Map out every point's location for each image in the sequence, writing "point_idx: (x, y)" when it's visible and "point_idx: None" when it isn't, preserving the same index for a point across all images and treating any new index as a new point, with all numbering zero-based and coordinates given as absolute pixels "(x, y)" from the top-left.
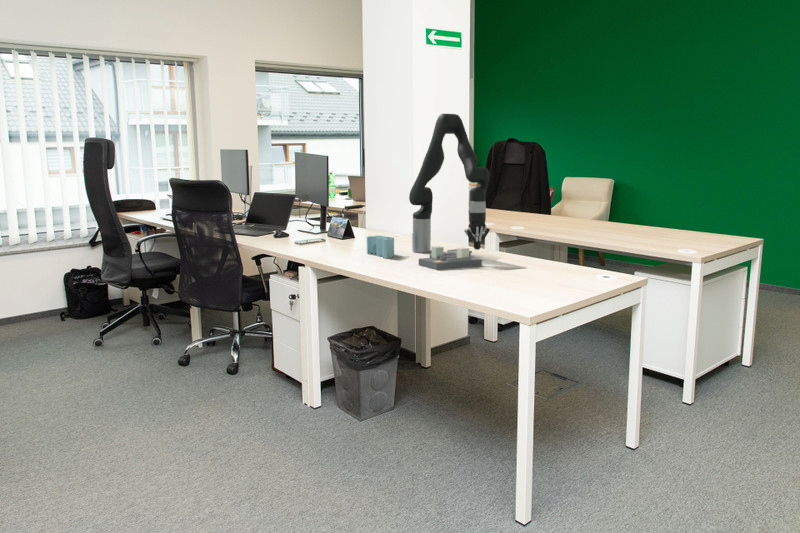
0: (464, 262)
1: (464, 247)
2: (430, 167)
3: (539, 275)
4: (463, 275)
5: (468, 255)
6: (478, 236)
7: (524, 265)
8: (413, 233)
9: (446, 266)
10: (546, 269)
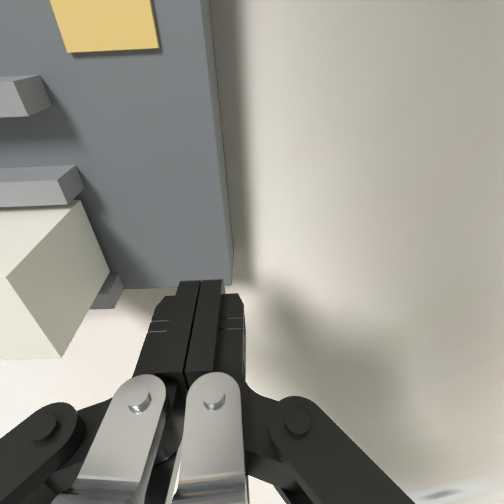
0: None
1: (6, 291)
2: None
3: None
4: (27, 401)
5: (88, 296)
6: (232, 477)
7: (475, 327)
8: None
9: None
10: (436, 412)
